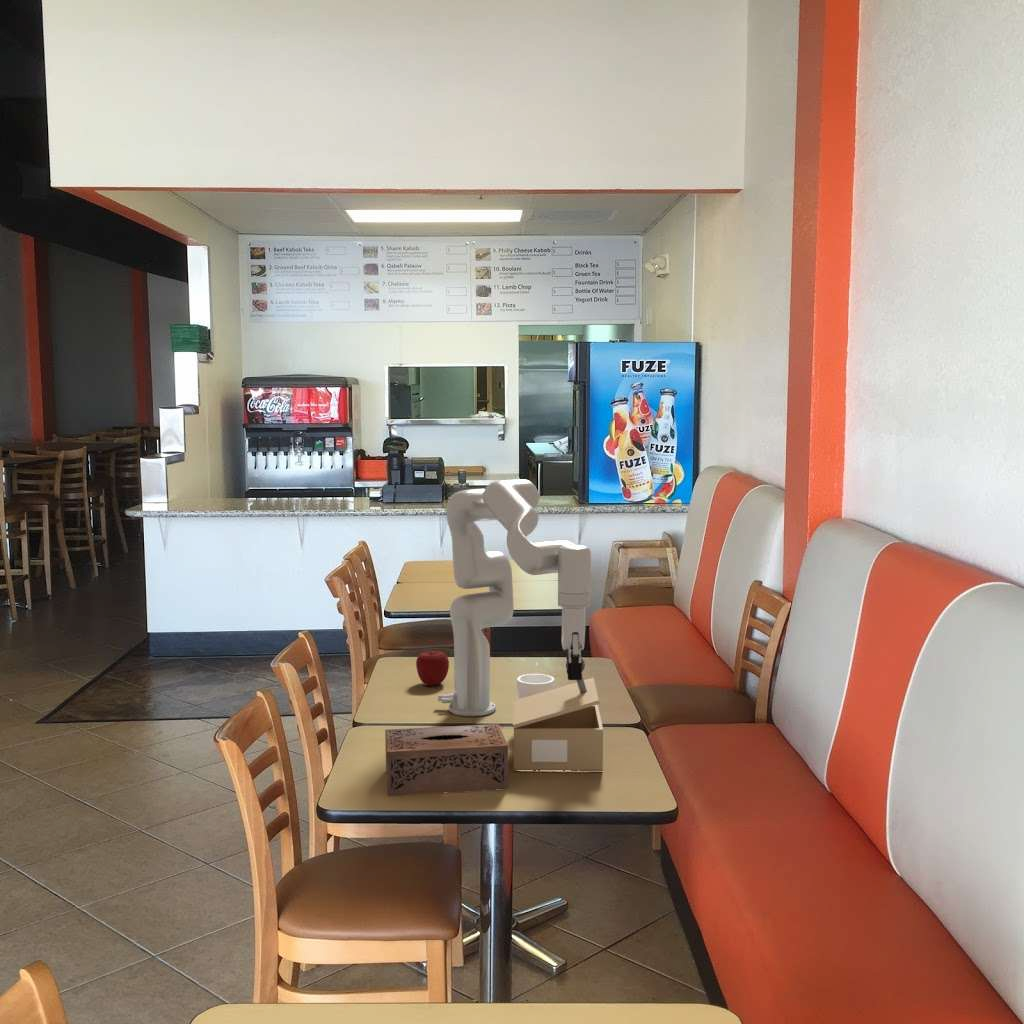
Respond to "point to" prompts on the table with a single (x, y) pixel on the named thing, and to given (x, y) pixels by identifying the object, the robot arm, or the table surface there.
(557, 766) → the carton
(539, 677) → the foam cup
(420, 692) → the table surface
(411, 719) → the table surface
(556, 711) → the carton lid
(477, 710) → the robot arm
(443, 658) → the apple
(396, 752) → the tissue box cover
